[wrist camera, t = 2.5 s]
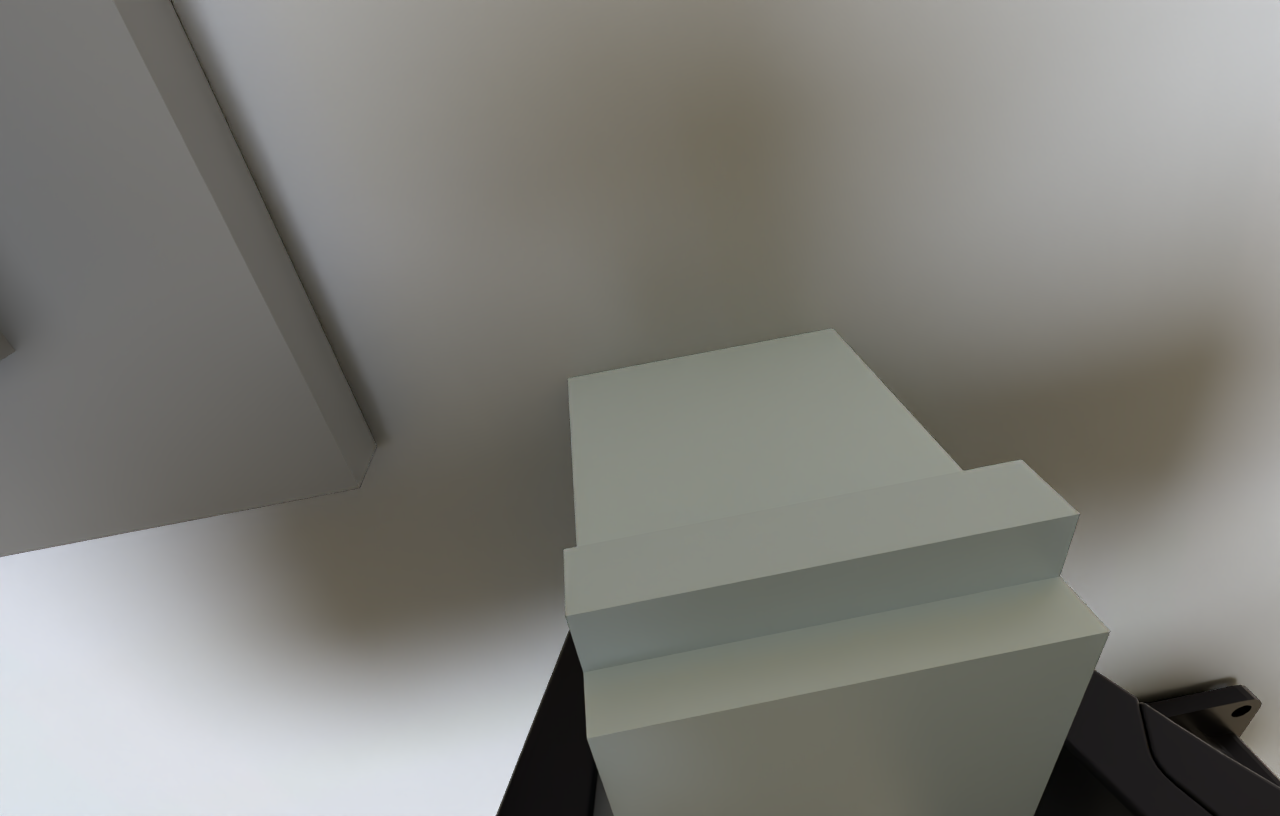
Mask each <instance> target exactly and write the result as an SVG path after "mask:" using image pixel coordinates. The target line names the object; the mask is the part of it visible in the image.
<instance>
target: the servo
mask: <svg viewBox="0 0 1280 816" xmlns="http://www.w3.org/2000/svg"><path fill="white" fill-rule="evenodd" d="M568 393H569V412H570V430H571V449H572V468H573V487H574V505H575V524H576V543H577V547H573V548H567V549H563V550H564V585H565V617H566V620H567V623H568V626H569V629H570V632H571V635H572V639H573V642H574V645H575V648H576V651H577V654H578V657H579V660H580V663H581V667H582V670H583V675H584V693H585V712H586V731H587V740H588V743H589V746H590V749H591V752H592V755H593V757H594V760H595V763H596V766H597V769H598V772H599V775H600V777H601V780H602V783H603V786H604V789H605V792H606V795H607V797H608V800H609V803H610V806H611V809H612V812H613V815H614V816H1034V814H1035V811H1036V809H1037V806H1038V804H1039V802H1040V799H1041V797H1042V794H1043V792H1044V790H1045V787H1046V785H1047V782H1048V780H1049V778H1050V775H1051V773H1052V770H1053V768H1054V765H1055V763H1056V761H1057V758H1058V756H1059V753H1060V751H1061V749H1062V746H1063V744H1064V741H1065V739H1066V737H1067V734H1068V732H1069V729H1070V727H1071V725H1072V722H1073V720H1074V717H1075V715H1076V713H1077V710H1078V708H1079V705H1080V703H1081V700H1082V698H1083V696H1084V693H1085V691H1086V688H1087V686H1088V684H1089V681H1090V679H1091V676H1092V674H1093V672H1094V669H1095V667H1096V664H1097V662H1098V660H1099V657H1100V655H1101V652H1102V650H1103V648H1104V645H1105V643H1106V640H1107V638H1108V636H1109V633H1110V631H1109V629H1108V628H1107V627H1106V626H1105V625H1104V624H1103V623H1102V622H1101V621H1100V620H1099V619H1098V617H1097V616H1096V615H1095V614H1094V613H1093V612H1092V611H1091V610H1090V609H1089V608H1088V607H1087V605H1086V604H1085V603H1084V602H1083V601H1082V600H1081V599H1080V598H1079V597H1078V596H1077V594H1076V593H1075V592H1074V591H1073V590H1072V589H1071V588H1070V587H1069V586H1068V585H1067V584H1066V582H1065V581H1064V580H1063V579H1062V578H1061V577H1060V574H1061V571H1062V568H1063V565H1064V562H1065V559H1066V556H1067V552H1068V549H1069V546H1070V543H1071V540H1072V537H1073V534H1074V531H1075V528H1076V525H1077V521H1078V518H1079V515H1080V513H1079V512H1077V511H1076V510H1075V509H1074V508H1073V507H1072V506H1071V505H1070V504H1069V503H1068V502H1067V501H1066V500H1065V499H1064V498H1063V497H1061V496H1060V495H1059V494H1058V493H1057V492H1056V491H1055V490H1054V489H1053V488H1052V487H1051V486H1050V485H1049V484H1048V483H1046V482H1045V481H1044V480H1043V479H1042V478H1041V477H1040V476H1039V475H1038V474H1037V473H1036V472H1035V471H1034V470H1033V469H1031V468H1030V467H1029V466H1028V465H1027V464H1026V463H1025V462H1024V461H1023V460H1022V459H1021V460H1016V461H1010V462H1005V463H1000V464H995V465H990V466H985V467H980V468H975V469H970V470H965V471H963V470H962V469H961V468H960V467H959V465H958V464H957V463H956V462H955V461H954V460H953V459H952V458H951V457H950V456H949V455H948V453H947V452H946V451H945V450H944V449H943V448H942V447H941V446H940V445H939V444H938V443H937V441H936V440H935V439H934V438H933V437H932V436H931V435H930V434H929V433H928V432H927V430H926V429H925V428H924V427H923V426H922V425H921V424H920V423H919V422H918V421H917V420H916V418H915V417H914V416H913V415H912V414H911V413H910V412H909V411H908V410H907V409H906V408H905V406H904V405H903V404H902V403H901V402H900V401H899V400H898V399H897V398H896V397H895V396H894V394H893V393H892V392H891V391H890V390H889V389H888V388H887V387H886V386H885V385H884V383H883V382H882V381H881V380H880V379H879V378H878V377H877V376H876V375H875V374H874V373H873V371H872V370H871V369H870V368H869V367H868V366H867V365H866V364H865V363H864V362H863V361H862V359H861V358H860V357H859V356H858V355H857V354H856V353H855V352H854V351H853V350H852V349H851V347H850V346H849V345H848V344H847V343H846V342H845V341H844V340H843V339H842V338H841V336H840V335H839V334H838V333H837V332H836V331H835V330H834V329H833V328H831V329H825V330H820V331H815V332H810V333H804V334H799V335H794V336H788V337H783V338H778V339H773V340H767V341H762V342H757V343H751V344H746V345H741V346H736V347H730V348H725V349H720V350H715V351H709V352H704V353H699V354H693V355H688V356H683V357H678V358H672V359H667V360H662V361H656V362H651V363H646V364H641V365H635V366H630V367H625V368H619V369H614V370H609V371H604V372H598V373H593V374H588V375H582V376H577V377H572V378H568Z"/></svg>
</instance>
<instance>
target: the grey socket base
mask: <svg viewBox="0 0 1280 816" xmlns="http://www.w3.org/2000/svg"><path fill="white" fill-rule="evenodd" d="M376 446H377V445H376V443H375V441H374V439H373V436H372V434H371V432H370V430H369V428H368V426H367V424H366V421H365V419H364V417H363V415H362V413H361V411H360V408H359V406H358V404H357V402H356V400H355V398H354V396H353V393H352V391H351V389H350V387H349V385H348V383H347V380H346V378H345V376H344V374H343V372H342V370H341V368H340V365H339V363H338V361H337V359H336V357H335V355H334V352H333V350H332V348H331V346H330V344H329V342H328V340H327V337H326V335H325V333H324V331H323V329H322V327H321V324H320V322H319V320H318V318H317V316H316V314H315V312H314V309H313V307H312V305H311V303H310V301H309V299H308V296H307V294H306V292H305V290H304V288H303V286H302V284H301V281H300V279H299V277H298V275H297V273H296V271H295V268H294V266H293V264H292V262H291V260H290V258H289V256H288V253H287V251H286V249H285V247H284V245H283V243H282V240H281V238H280V236H279V234H278V232H277V230H276V227H275V225H274V223H273V221H272V219H271V217H270V215H269V212H268V210H267V208H266V206H265V204H264V202H263V199H262V197H261V195H260V193H259V191H258V189H257V187H256V184H255V182H254V180H253V178H252V176H251V174H250V171H249V169H248V167H247V165H246V163H245V161H244V159H243V156H242V154H241V152H240V150H239V148H238V146H237V143H236V141H235V139H234V137H233V135H232V133H231V131H230V128H229V126H228V124H227V122H226V120H225V118H224V115H223V113H222V111H221V109H220V107H219V105H218V103H217V100H216V98H215V96H214V94H213V92H212V90H211V87H210V85H209V83H208V81H207V79H206V77H205V75H204V72H203V70H202V68H201V66H200V64H199V62H198V59H197V57H196V55H195V53H194V51H193V49H192V47H191V44H190V42H189V40H188V38H187V36H186V34H185V31H184V29H183V27H182V25H181V23H180V21H179V19H178V16H177V14H176V12H175V10H174V8H173V6H172V3H171V1H170V0H0V557H3V556H8V555H13V554H19V553H24V552H29V551H34V550H40V549H45V548H50V547H55V546H61V545H66V544H71V543H76V542H81V541H87V540H92V539H97V538H102V537H108V536H113V535H118V534H123V533H128V532H134V531H139V530H144V529H149V528H155V527H160V526H165V525H170V524H175V523H181V522H186V521H191V520H196V519H202V518H207V517H212V516H217V515H222V514H228V513H233V512H238V511H243V510H249V509H254V508H259V507H264V506H269V505H275V504H280V503H285V502H290V501H296V500H301V499H306V498H311V497H316V496H322V495H327V494H332V493H337V492H343V491H348V490H353V489H358V488H360V486H361V484H362V481H363V479H364V476H365V474H366V471H367V469H368V466H369V464H370V461H371V459H372V456H373V454H374V451H375V449H376Z"/></svg>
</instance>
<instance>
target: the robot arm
mask: <svg viewBox="0 0 1280 816" xmlns="http://www.w3.org/2000/svg"><path fill="white" fill-rule="evenodd" d="M1261 704H1262V703H1261V701H1260V700H1259V699H1258V698H1257V697H1256V696H1255V695H1254V694H1253V693H1252V692H1251V691H1250V690H1248V689H1247V688H1246V687H1245V686H1242V685H1236V686H1230V687H1225V688H1220V689H1216V690H1211V691H1206V692H1201V693H1196V694H1192V695H1187V696H1182V697H1177V698H1172V699H1168V700H1163V701H1158V702H1153V703H1148V704H1146V703H1143V702H1141V703H1139V701H1138V699H1137V698H1136V697H1135V696H1133V695H1132V694H1130V693H1129V692H1127V691H1126V690H1124V689H1123V688H1121V687H1120V686H1118V685H1117V684H1115V683H1114V682H1112V681H1111V680H1109V679H1108V678H1106V677H1105V676H1103V675H1102V674H1100V673H1098V672H1097V671H1095V670H1094V672H1093V674H1092V676H1091V679H1090V681H1089V684H1088V686H1087V688H1086V691H1085V693H1084V696H1083V698H1082V700H1081V703H1080V705H1079V708H1078V710H1077V713H1076V715H1075V717H1074V720H1073V722H1072V725H1071V727H1070V729H1069V732H1068V734H1067V737H1066V739H1065V741H1064V744H1063V746H1062V749H1061V751H1060V753H1059V756H1058V758H1057V761H1056V763H1055V765H1054V768H1053V770H1052V773H1051V775H1050V778H1049V780H1048V782H1047V785H1046V787H1045V790H1044V792H1043V794H1042V797H1041V799H1040V802H1039V804H1038V806H1037V809H1036V811H1035V814H1034V816H1280V780H1279V779H1278V777H1277V776H1276V775H1275V774H1274V773H1273V772H1272V771H1271V770H1270V769H1269V768H1268V767H1267V766H1266V765H1265V764H1264V763H1263V762H1262V761H1261V760H1260V759H1259V758H1258V757H1257V756H1256V755H1255V754H1254V753H1253V751H1252V750H1251V749H1250V748H1249V747H1248V746H1247V745H1246V744H1245V743H1244V742H1243V741H1242V740H1241V739H1240V738H1239V737H1240V736H1241V734H1242V733H1243V731H1244V730H1245V729H1246V727H1247V726H1248V724H1249V723H1250V721H1251V720H1252V718H1253V717H1254V715H1255V714H1256V713H1257V711H1258V710H1259V708H1260V706H1261ZM496 816H614V815H613V812H612V809H611V806H610V803H609V800H608V797H607V795H606V792H605V789H604V786H603V783H602V780H601V777H600V775H599V772H598V769H597V766H596V763H595V760H594V757H593V755H592V752H591V749H590V746H589V743H588V740H587V731H586V712H585V693H584V675H583V670H582V667H581V663H580V660H579V657H578V654H577V651H576V648H575V645H574V642H573V639H572V635H571V632H570V629H569V632H568V634H567V637H566V639H565V642H564V644H563V647H562V650H561V652H560V655H559V657H558V660H557V662H556V665H555V667H554V670H553V672H552V675H551V677H550V680H549V682H548V685H547V688H546V690H545V693H544V695H543V698H542V700H541V703H540V705H539V708H538V710H537V713H536V715H535V718H534V720H533V723H532V726H531V728H530V731H529V733H528V736H527V738H526V741H525V743H524V746H523V748H522V751H521V753H520V756H519V758H518V761H517V764H516V766H515V769H514V771H513V774H512V776H511V779H510V781H509V784H508V786H507V789H506V791H505V794H504V796H503V799H502V802H501V804H500V807H499V809H498V812H497V814H496Z"/></svg>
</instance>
